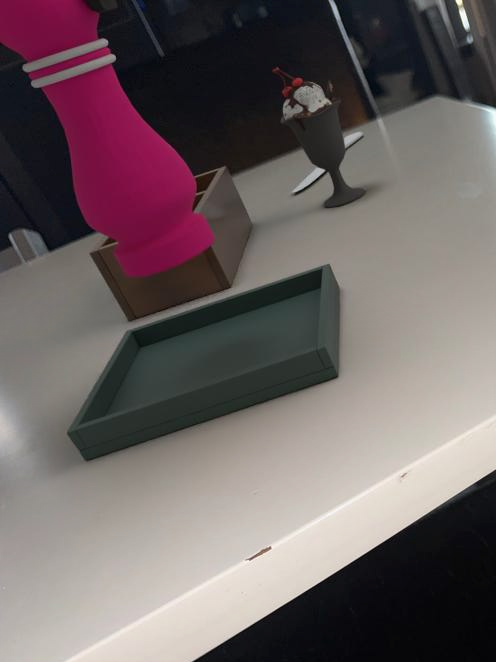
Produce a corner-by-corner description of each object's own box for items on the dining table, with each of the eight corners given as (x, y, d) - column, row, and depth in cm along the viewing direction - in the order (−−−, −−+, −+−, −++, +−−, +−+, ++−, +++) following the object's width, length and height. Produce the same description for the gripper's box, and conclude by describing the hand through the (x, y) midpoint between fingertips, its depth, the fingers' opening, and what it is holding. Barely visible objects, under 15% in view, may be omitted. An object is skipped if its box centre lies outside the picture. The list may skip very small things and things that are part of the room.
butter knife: (366, 129, 113) (348, 134, 113) (304, 188, 93) (283, 193, 94) (367, 132, 113) (349, 137, 114) (305, 191, 93) (285, 196, 94)
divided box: (128, 321, 71) (88, 253, 67) (169, 251, 88) (139, 194, 84) (231, 287, 71) (196, 217, 67) (252, 224, 88) (226, 165, 84)
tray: (85, 461, 49) (65, 433, 48) (140, 354, 63) (125, 330, 62) (338, 376, 49) (325, 346, 48) (339, 288, 63) (329, 263, 62)
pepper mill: (158, 283, 47) (-36, -75, 38) (98, 281, 52) (-90, -41, 42) (243, 231, 52) (90, -99, 42) (182, 233, 56) (30, -66, 47)
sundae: (305, 214, 85) (248, 77, 78) (335, 190, 90) (284, 60, 83) (354, 207, 82) (299, 63, 75) (382, 182, 87) (333, 46, 80)
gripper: (44, -396, 39) (203, -20, 48) (-276, -290, 39) (-60, 67, 48) (-16, -467, 33) (180, -16, 41) (-401, -340, 33) (-124, 84, 41)
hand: (50, 25), depth 45 cm, fingers closed on pepper mill, 6 cm apart
